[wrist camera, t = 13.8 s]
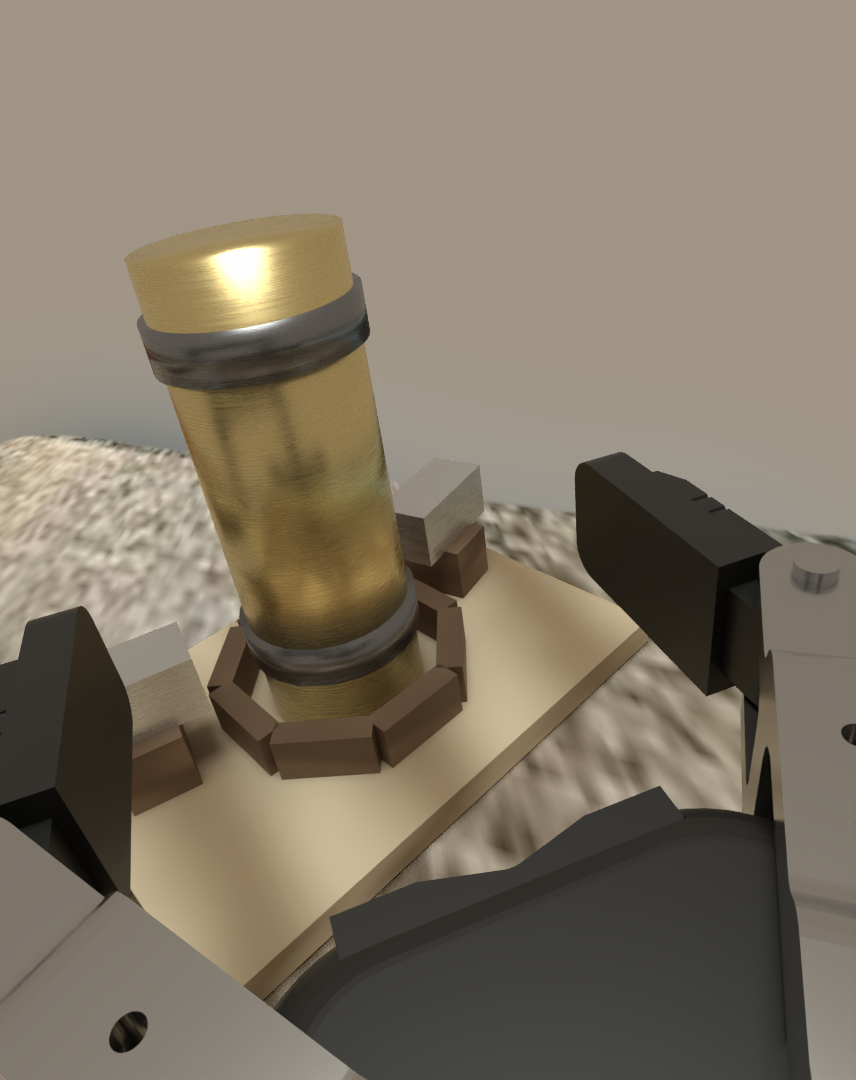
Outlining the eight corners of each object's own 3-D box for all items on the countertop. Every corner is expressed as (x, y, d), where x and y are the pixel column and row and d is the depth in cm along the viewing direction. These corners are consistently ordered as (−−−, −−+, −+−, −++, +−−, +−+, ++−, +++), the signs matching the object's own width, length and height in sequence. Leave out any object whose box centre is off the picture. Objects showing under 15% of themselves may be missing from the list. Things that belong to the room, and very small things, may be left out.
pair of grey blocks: (83, 795, 19) (52, 742, 18) (44, 739, 21) (14, 688, 20) (504, 518, 28) (500, 472, 27) (449, 497, 30) (443, 452, 29)
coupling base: (225, 1034, 17) (185, 965, 15) (45, 762, 25) (6, 697, 23) (647, 641, 26) (650, 571, 24) (416, 534, 34) (406, 476, 32)
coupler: (334, 773, 21) (184, 279, 14) (238, 689, 25) (78, 259, 17) (463, 671, 24) (398, 215, 17) (361, 609, 28) (269, 209, 20)
